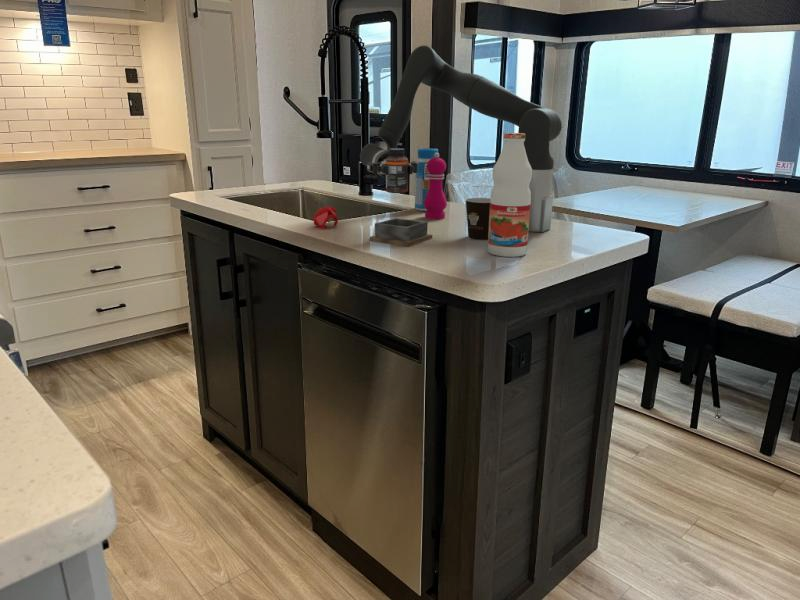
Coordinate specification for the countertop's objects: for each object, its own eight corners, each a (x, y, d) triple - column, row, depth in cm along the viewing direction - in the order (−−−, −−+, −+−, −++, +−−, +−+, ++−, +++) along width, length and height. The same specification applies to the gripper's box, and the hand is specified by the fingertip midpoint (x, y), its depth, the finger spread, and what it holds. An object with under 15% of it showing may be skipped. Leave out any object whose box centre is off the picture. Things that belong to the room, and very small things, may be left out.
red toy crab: (345, 216, 176) (334, 203, 179) (332, 211, 171) (321, 198, 174) (329, 237, 179) (318, 224, 182) (316, 233, 174) (305, 220, 177)
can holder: (432, 238, 164) (432, 221, 162) (408, 246, 154) (409, 229, 153) (394, 233, 170) (394, 217, 168) (369, 240, 160) (369, 223, 159)
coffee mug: (458, 235, 168) (459, 198, 165) (485, 233, 171) (487, 197, 168) (480, 244, 158) (482, 205, 155) (508, 241, 161) (511, 203, 158)
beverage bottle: (409, 209, 208) (410, 148, 201) (422, 206, 214) (424, 147, 208) (430, 212, 203) (432, 150, 197) (443, 209, 210) (445, 148, 203)
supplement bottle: (397, 189, 168) (397, 147, 165) (412, 192, 164) (413, 148, 161) (381, 191, 164) (381, 148, 161) (396, 194, 160) (396, 149, 157)
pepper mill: (446, 219, 190) (449, 153, 184) (423, 219, 190) (425, 153, 184) (445, 215, 197) (447, 151, 191) (423, 215, 197) (424, 151, 191)
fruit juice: (526, 249, 152) (535, 132, 144) (527, 258, 144) (536, 134, 135) (488, 247, 154) (494, 132, 145) (486, 256, 145) (493, 133, 136)
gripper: (361, 150, 173) (371, 155, 157) (411, 150, 176) (426, 155, 160) (362, 177, 175) (371, 185, 160) (411, 176, 178) (425, 184, 163)
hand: (399, 170), depth 160 cm, fingers closed on supplement bottle, 6 cm apart
